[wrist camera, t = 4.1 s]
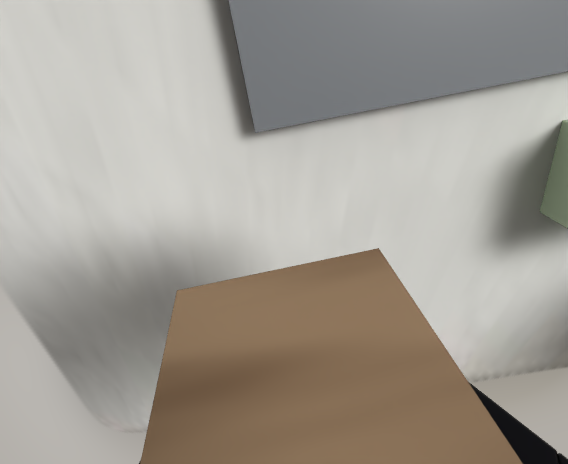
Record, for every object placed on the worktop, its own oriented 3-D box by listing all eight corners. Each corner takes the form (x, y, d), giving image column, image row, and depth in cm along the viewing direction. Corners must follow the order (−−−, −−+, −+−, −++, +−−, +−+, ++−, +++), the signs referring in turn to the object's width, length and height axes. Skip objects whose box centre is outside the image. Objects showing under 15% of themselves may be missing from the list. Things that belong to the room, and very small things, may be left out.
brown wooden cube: (381, 376, 11) (475, 595, 7) (227, 410, 11) (224, 655, 7) (378, 248, 8) (528, 471, 4) (177, 290, 8) (118, 567, 4)
